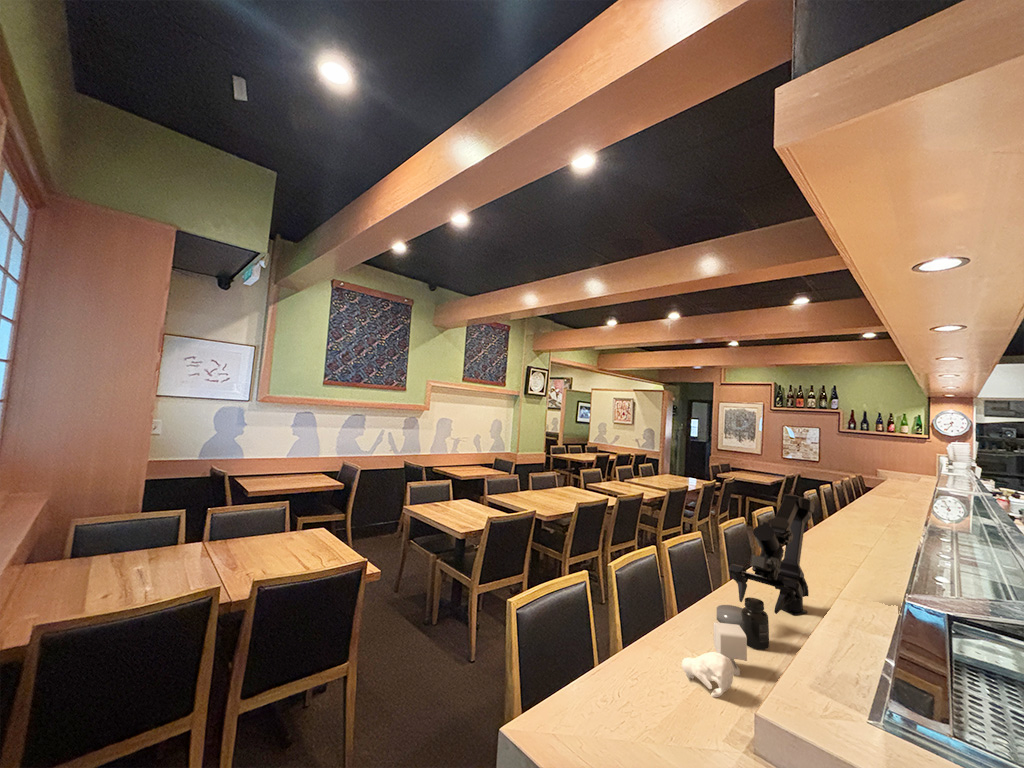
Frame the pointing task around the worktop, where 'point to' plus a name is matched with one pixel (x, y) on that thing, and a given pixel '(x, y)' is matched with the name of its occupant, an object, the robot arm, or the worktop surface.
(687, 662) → the white toy
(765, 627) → the supplement bottle
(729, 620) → the stand
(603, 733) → the worktop surface
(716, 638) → the security camera
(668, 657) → the worktop surface
